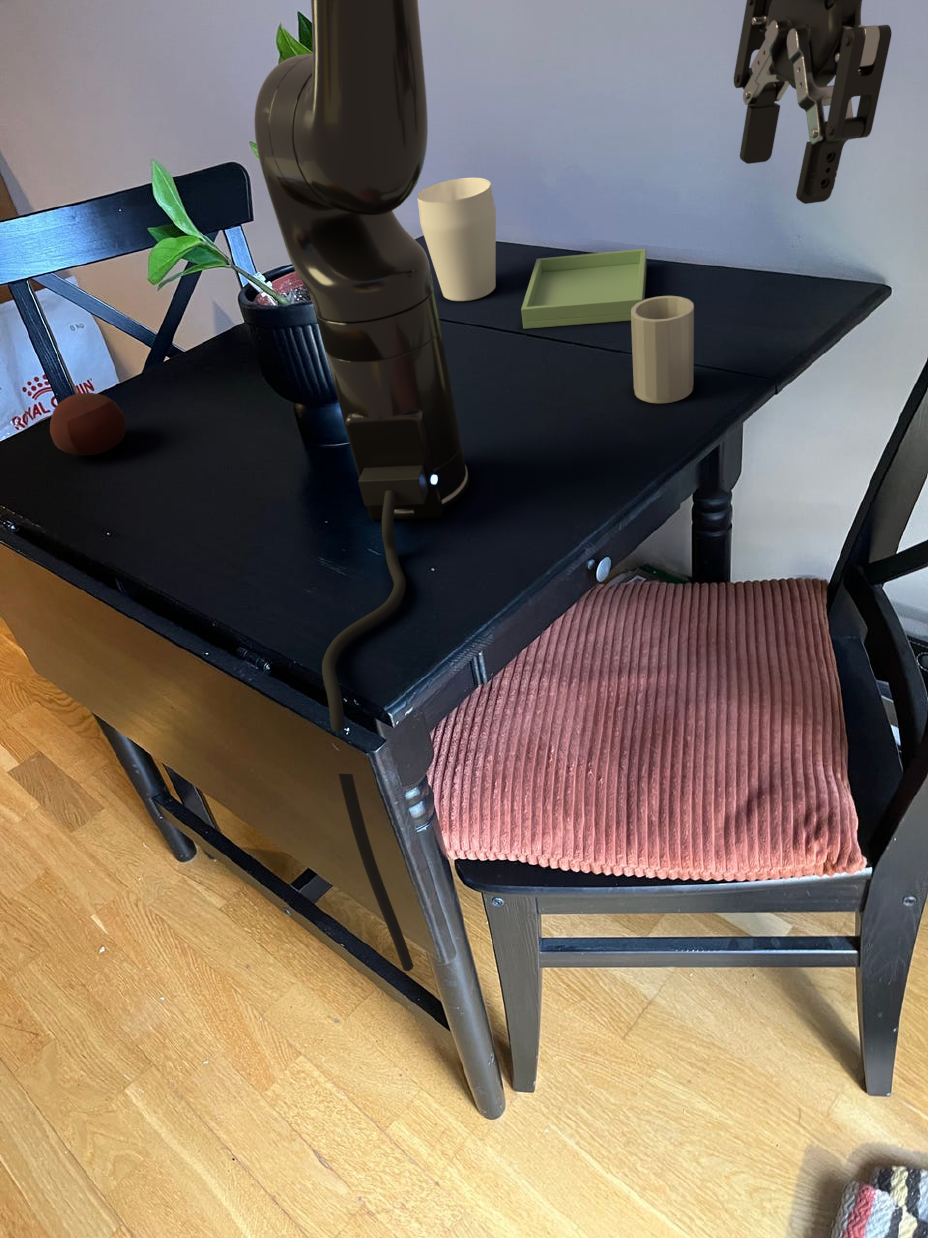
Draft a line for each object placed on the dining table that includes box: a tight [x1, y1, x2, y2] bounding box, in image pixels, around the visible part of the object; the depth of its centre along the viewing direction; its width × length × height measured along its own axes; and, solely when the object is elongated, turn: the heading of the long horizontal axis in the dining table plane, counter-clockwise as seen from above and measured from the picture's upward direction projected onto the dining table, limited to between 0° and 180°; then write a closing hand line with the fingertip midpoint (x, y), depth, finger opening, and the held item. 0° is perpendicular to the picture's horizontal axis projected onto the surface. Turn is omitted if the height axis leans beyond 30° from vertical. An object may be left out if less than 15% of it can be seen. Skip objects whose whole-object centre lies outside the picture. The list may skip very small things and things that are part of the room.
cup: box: [416, 177, 497, 302], centre depth 110 cm, size 9×9×12 cm
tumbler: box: [630, 295, 695, 404], centre depth 85 cm, size 6×6×8 cm
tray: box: [520, 248, 648, 330], centre depth 106 cm, size 15×13×2 cm
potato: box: [49, 392, 127, 457], centre depth 95 cm, size 7×8×6 cm
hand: (782, 180), depth 65 cm, fingers open, 8 cm apart
